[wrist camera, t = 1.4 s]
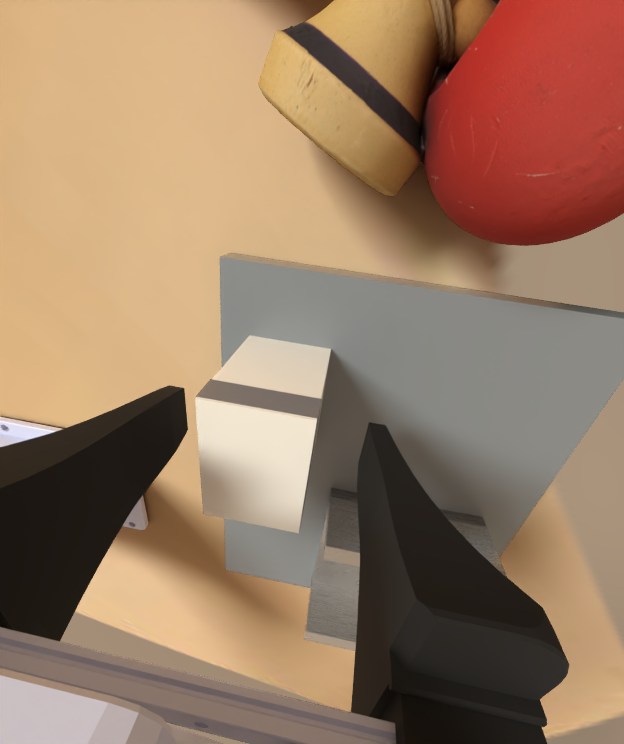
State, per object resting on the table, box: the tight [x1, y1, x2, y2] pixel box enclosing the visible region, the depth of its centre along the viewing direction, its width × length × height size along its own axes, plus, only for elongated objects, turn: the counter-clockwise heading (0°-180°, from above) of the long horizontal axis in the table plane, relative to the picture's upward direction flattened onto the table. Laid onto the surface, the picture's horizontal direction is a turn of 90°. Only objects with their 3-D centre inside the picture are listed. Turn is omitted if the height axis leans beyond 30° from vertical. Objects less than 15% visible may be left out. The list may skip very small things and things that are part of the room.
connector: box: [195, 335, 331, 533], centre depth 12 cm, size 4×5×5 cm
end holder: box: [304, 488, 507, 651], centre depth 17 cm, size 8×9×3 cm
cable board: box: [220, 253, 624, 588], centre depth 17 cm, size 16×21×1 cm
